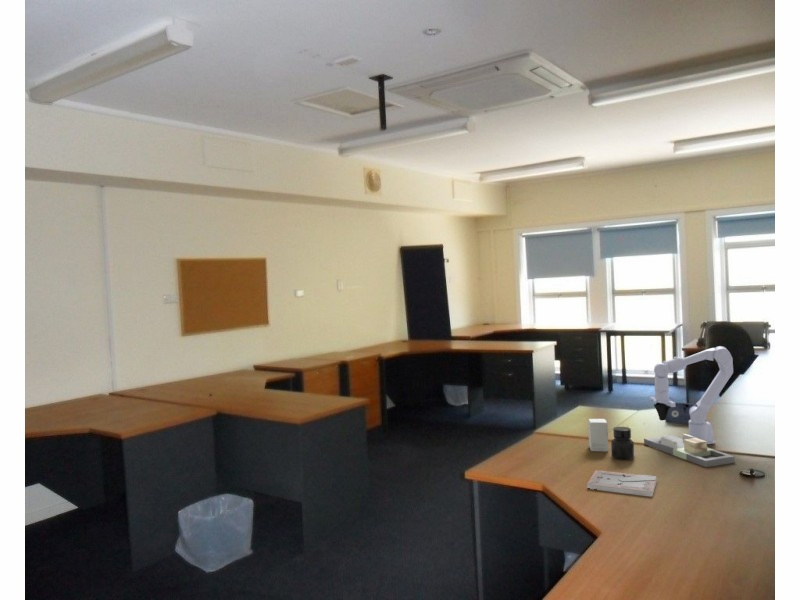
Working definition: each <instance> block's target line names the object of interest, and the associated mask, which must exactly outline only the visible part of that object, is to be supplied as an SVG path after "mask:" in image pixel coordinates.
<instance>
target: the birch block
mask: <svg viewBox="0 0 800 600" xmlns="http://www.w3.org/2000/svg"><path fill="white" fill-rule="evenodd" d="M707 447H708V444H707V441H704V440H701V439H698V438H692V439H685V440H684V449H685V450H688V451H691V452H694V453H699V452H705V451H707Z"/></svg>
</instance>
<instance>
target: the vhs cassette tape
mask: <svg viewBox="0 0 800 600" xmlns="http://www.w3.org/2000/svg"><path fill="white" fill-rule="evenodd" d="M694 405H696V403H689V402H675V406H676V407H670V408H669V410H668V412H667V416H666V420H664V421H665V423H674V424H684V425H689V420H690V419H691V418H690V414H689V410H690V408H691V407H693V406H694ZM705 421H707V419H706V420H705Z"/></svg>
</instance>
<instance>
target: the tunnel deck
mask: <svg viewBox="0 0 800 600" xmlns="http://www.w3.org/2000/svg"><path fill="white" fill-rule="evenodd" d="M692 438H696V437H693V436H690V435H689V434H686V433H682V437H681V438H680V437H677V436H675V435H671V434H669V435H668V434H667V435H659V436H654V437H653V436H651V437H644V438H643V445H646V446H649V447H650V448H654V449H656V450H659V451H662V452H664V453H667V454H670V455H672V456H675V457H677V458H680V459H683V460H686V461H687V462H691V463H693V464H696V465H698V466H702V467H704V468H709V467H715V466H721V465H727V464H734V463H735V456H734V455H732V454H729V453H725V452H723V451H720V450H717V449H714V448H710V447H708V446H707V451H705V452H699V453H694V452H691V451H688V450H685V449H684V440H685V439H692ZM698 439H699V438H698Z"/></svg>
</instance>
